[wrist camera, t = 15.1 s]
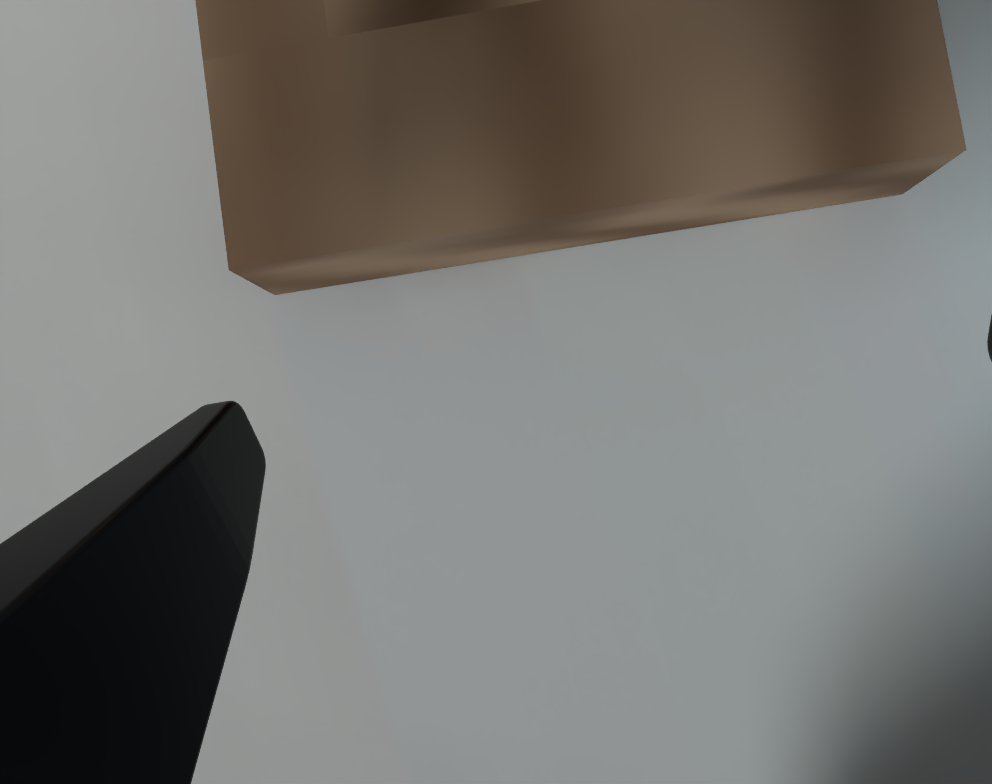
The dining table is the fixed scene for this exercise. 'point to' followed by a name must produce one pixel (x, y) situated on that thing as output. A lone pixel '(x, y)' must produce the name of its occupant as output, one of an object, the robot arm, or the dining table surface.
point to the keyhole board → (553, 122)
